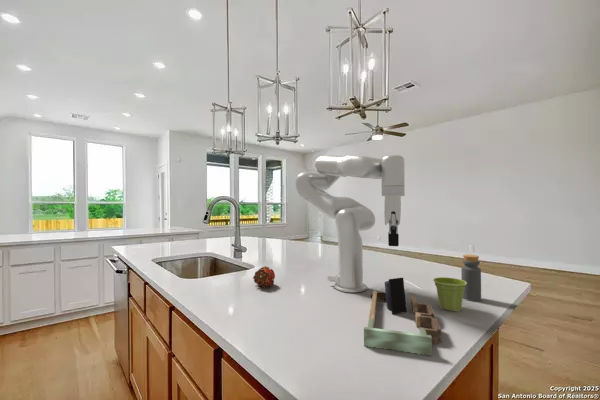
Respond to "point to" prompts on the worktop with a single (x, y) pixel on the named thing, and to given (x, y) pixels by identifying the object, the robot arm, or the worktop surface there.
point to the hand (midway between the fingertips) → (393, 244)
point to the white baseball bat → (412, 284)
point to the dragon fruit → (264, 277)
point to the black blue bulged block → (395, 295)
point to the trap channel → (405, 340)
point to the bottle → (471, 278)
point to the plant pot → (450, 292)
